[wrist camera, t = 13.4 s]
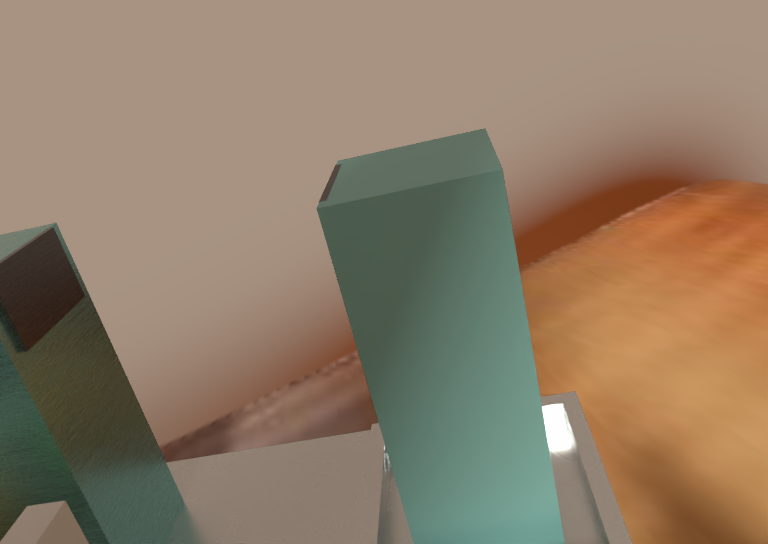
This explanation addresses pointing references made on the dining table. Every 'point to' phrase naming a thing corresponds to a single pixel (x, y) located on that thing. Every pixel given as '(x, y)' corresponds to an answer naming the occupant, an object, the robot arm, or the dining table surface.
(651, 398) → the dining table surface
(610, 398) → the dining table surface
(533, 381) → the mint green block
